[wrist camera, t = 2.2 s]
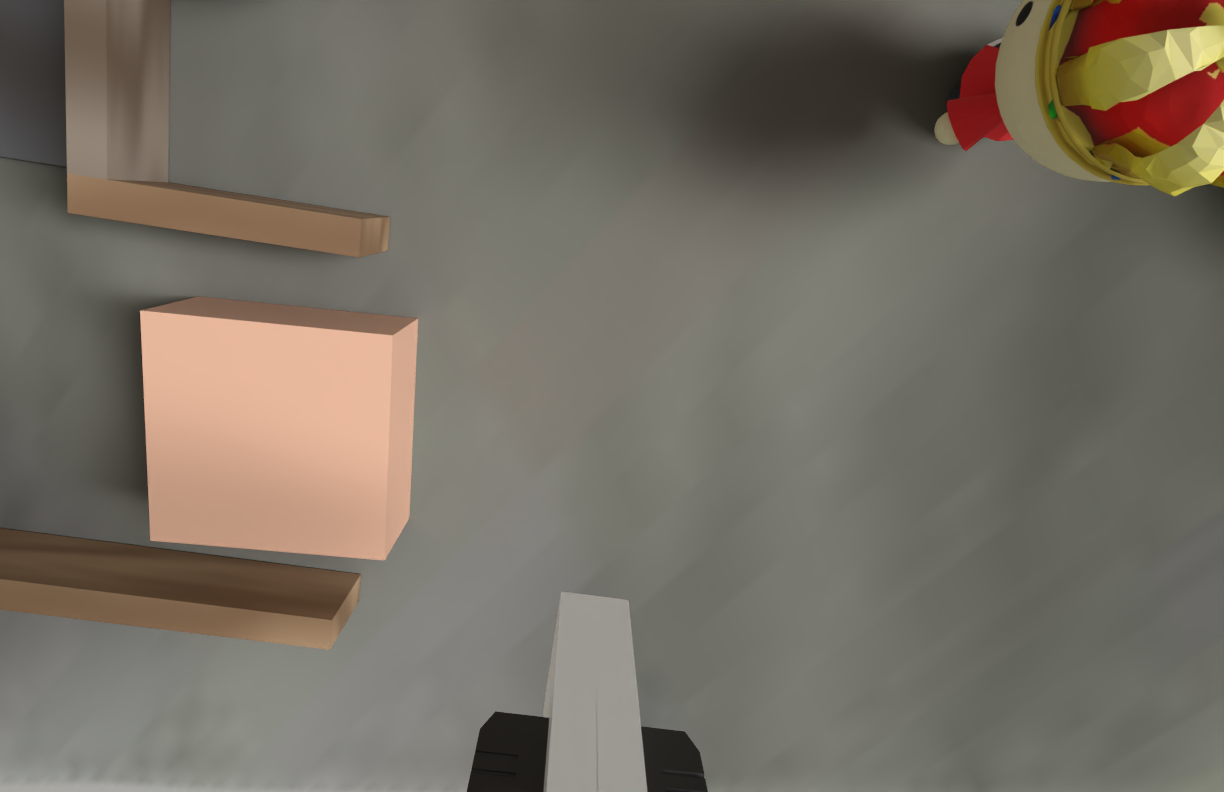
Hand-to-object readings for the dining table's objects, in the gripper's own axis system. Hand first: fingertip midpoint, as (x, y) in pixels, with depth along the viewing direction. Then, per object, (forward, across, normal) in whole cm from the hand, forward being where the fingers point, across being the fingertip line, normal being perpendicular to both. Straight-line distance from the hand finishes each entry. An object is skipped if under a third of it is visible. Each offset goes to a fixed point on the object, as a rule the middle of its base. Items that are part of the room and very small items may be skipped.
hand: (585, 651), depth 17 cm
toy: (+13, +12, +15) cm, 24 cm away
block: (+14, -11, 0) cm, 17 cm away
